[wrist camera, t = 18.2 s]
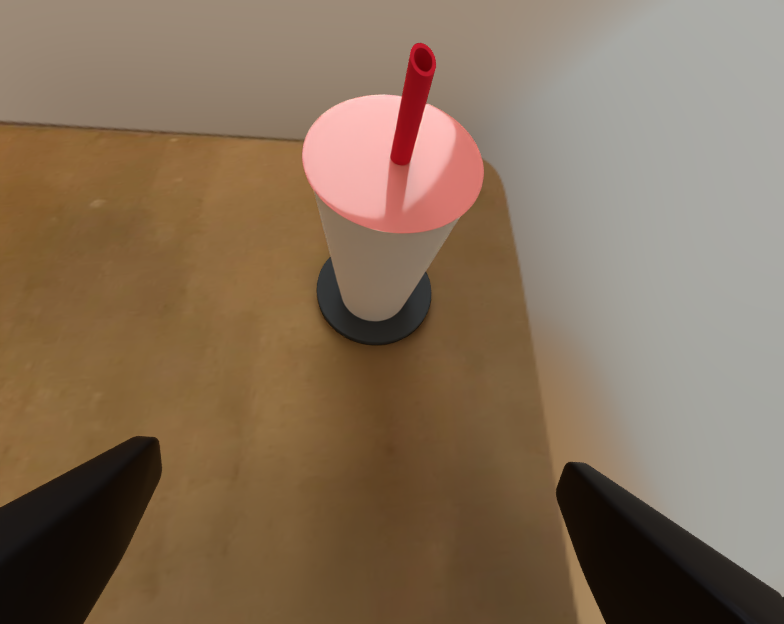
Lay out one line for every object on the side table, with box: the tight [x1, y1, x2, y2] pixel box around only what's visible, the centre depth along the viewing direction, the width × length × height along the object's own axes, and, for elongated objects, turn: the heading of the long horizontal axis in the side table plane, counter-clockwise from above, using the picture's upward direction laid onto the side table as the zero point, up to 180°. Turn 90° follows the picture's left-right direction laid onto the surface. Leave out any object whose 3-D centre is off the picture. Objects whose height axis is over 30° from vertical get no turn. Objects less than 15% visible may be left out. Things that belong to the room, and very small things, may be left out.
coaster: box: [317, 257, 431, 345], centre depth 19 cm, size 6×6×1 cm
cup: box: [302, 43, 484, 321], centre depth 13 cm, size 5×5×12 cm
